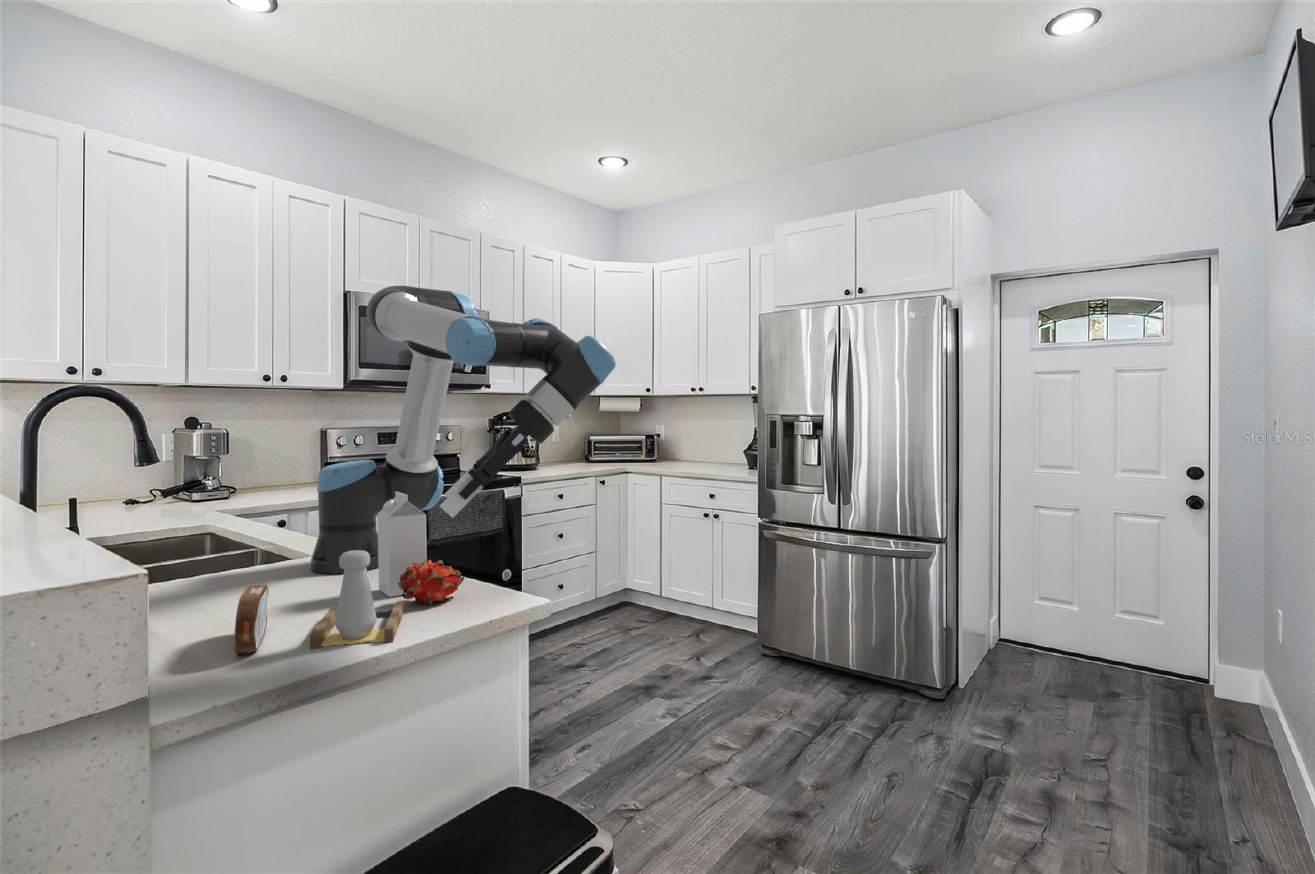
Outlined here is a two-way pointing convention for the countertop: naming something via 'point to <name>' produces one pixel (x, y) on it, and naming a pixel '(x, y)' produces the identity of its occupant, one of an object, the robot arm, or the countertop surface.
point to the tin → (251, 619)
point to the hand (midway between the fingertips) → (448, 505)
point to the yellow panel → (337, 639)
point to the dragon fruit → (430, 582)
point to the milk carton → (399, 541)
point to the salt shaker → (355, 597)
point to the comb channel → (392, 623)
